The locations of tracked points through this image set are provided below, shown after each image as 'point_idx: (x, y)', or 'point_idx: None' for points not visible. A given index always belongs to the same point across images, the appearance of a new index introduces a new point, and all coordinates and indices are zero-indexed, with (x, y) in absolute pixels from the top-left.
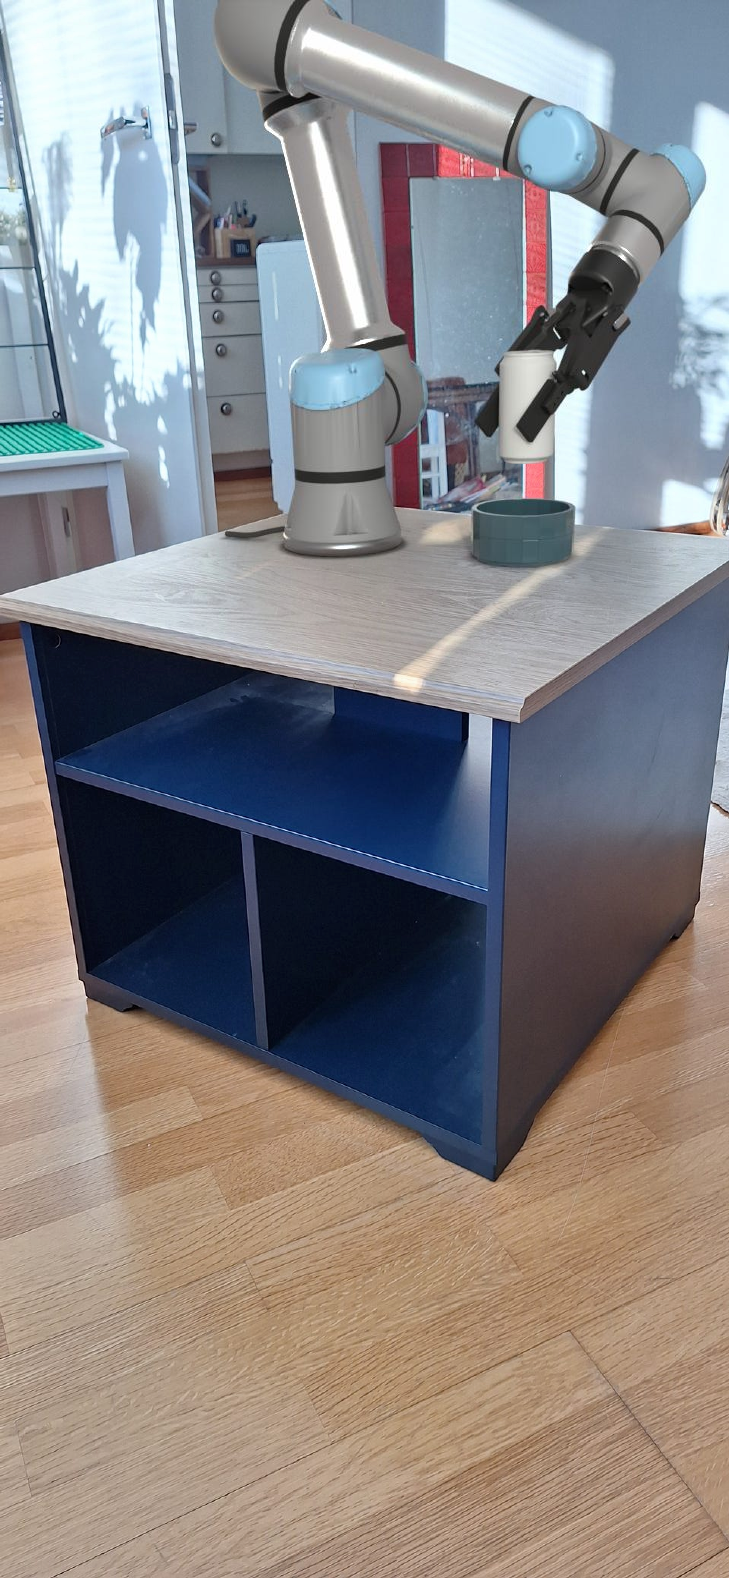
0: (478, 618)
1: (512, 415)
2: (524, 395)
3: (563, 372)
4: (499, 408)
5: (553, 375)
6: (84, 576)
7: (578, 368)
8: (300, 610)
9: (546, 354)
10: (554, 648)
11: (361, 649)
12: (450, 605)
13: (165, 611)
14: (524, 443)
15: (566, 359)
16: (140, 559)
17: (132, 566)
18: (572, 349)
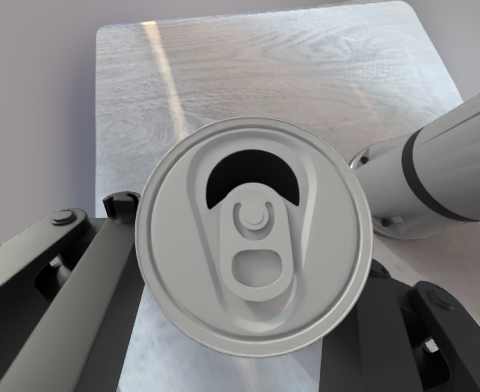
0: (174, 98)
1: (240, 179)
2: (214, 173)
3: (111, 223)
4: (281, 189)
5: (134, 193)
6: (426, 40)
7: (43, 225)
8: (265, 60)
9: (144, 201)
10: (113, 81)
11: (191, 36)
12: (204, 109)
13: (318, 25)
14: (222, 197)
15: (92, 273)
16: (450, 81)
17: (433, 68)
18: (39, 336)
